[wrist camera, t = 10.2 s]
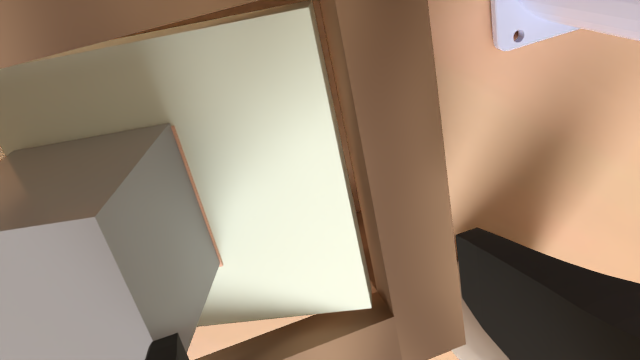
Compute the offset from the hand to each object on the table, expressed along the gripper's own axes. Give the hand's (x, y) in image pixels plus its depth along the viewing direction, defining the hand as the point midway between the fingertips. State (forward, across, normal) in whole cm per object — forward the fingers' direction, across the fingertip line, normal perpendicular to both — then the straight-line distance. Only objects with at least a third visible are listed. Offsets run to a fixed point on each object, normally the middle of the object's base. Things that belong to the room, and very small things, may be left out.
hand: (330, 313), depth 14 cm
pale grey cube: (+6, +5, -2) cm, 8 cm away
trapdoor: (+6, +2, -2) cm, 7 cm away
